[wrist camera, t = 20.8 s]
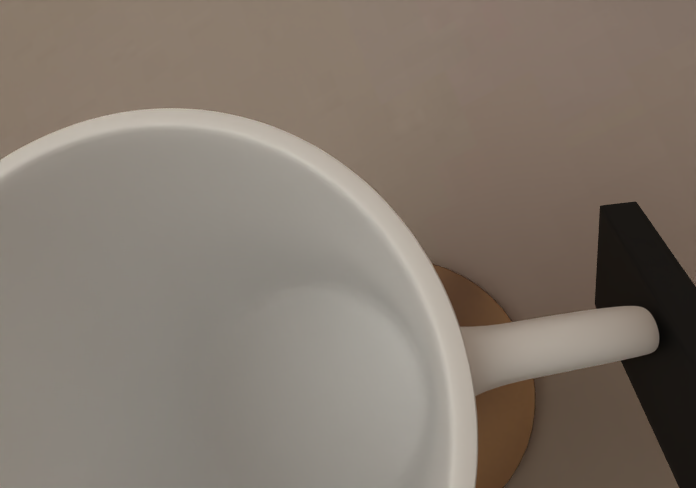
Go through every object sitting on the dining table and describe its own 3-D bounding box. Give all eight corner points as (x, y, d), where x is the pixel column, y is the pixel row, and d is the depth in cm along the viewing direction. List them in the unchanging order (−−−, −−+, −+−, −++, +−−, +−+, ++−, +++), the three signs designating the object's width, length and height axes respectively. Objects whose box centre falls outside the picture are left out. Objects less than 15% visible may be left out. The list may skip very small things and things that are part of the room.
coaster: (229, 460, 30) (226, 462, 30) (330, 225, 32) (329, 223, 31) (476, 580, 28) (477, 584, 27) (571, 318, 29) (574, 317, 29)
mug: (552, 230, 19) (723, -4, 8) (604, 537, 17) (937, 842, 6) (173, 276, 21) (-167, 135, 9) (183, 566, 19) (-233, 861, 7)
